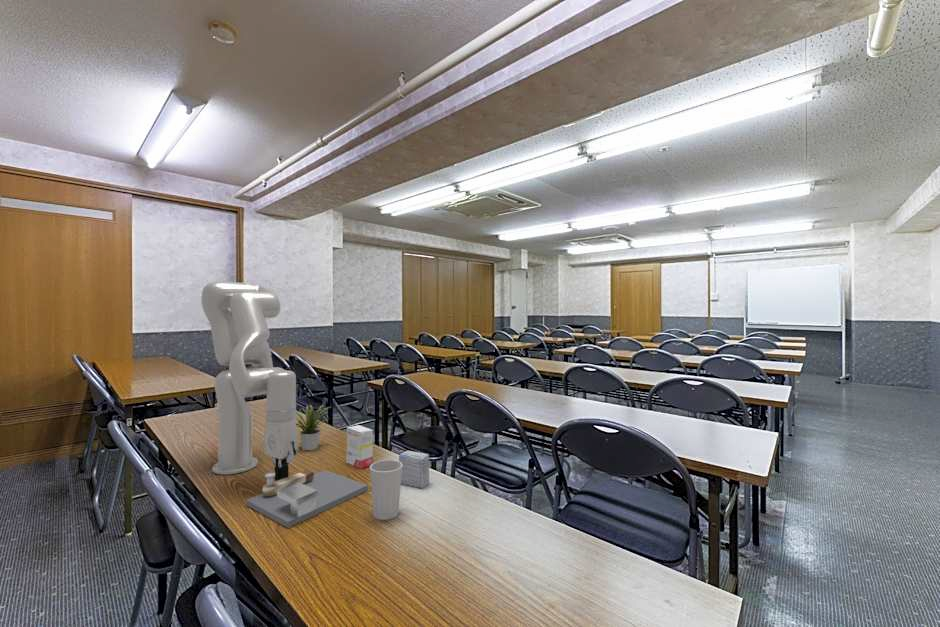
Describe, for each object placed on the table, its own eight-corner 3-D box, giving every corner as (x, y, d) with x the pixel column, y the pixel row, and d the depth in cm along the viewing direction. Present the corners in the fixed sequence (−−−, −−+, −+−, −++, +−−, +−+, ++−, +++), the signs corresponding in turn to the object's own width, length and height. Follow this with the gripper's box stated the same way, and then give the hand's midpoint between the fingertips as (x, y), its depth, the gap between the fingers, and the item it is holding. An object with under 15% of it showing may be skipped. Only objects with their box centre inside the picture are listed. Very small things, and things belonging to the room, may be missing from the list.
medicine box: (429, 483, 119) (429, 454, 119) (421, 489, 115) (421, 459, 115) (407, 478, 122) (407, 449, 122) (398, 484, 118) (398, 454, 118)
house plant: (342, 446, 150) (342, 403, 150) (309, 458, 138) (309, 410, 138) (317, 440, 157) (317, 398, 157) (284, 450, 146) (284, 405, 146)
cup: (407, 508, 104) (408, 462, 104) (391, 524, 96) (392, 473, 96) (380, 503, 106) (380, 458, 106) (363, 518, 99) (363, 469, 99)
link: (267, 497, 105) (267, 489, 105) (259, 494, 107) (259, 486, 107) (314, 479, 116) (314, 472, 116) (306, 476, 118) (306, 469, 118)
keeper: (277, 508, 100) (277, 490, 100) (299, 499, 105) (299, 482, 105) (295, 518, 96) (296, 499, 96) (318, 508, 101) (318, 490, 101)
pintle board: (246, 505, 105) (246, 478, 105) (325, 474, 125) (325, 451, 125) (288, 528, 94) (288, 497, 94) (367, 490, 114) (367, 465, 114)
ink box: (373, 465, 133) (373, 429, 133) (360, 469, 129) (361, 432, 129) (358, 458, 138) (358, 424, 138) (345, 462, 135) (345, 427, 134)
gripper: (254, 413, 115) (254, 478, 115) (283, 421, 107) (284, 491, 107) (279, 408, 121) (279, 469, 121) (309, 415, 113) (309, 481, 113)
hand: (281, 479), depth 114 cm, fingers closed
